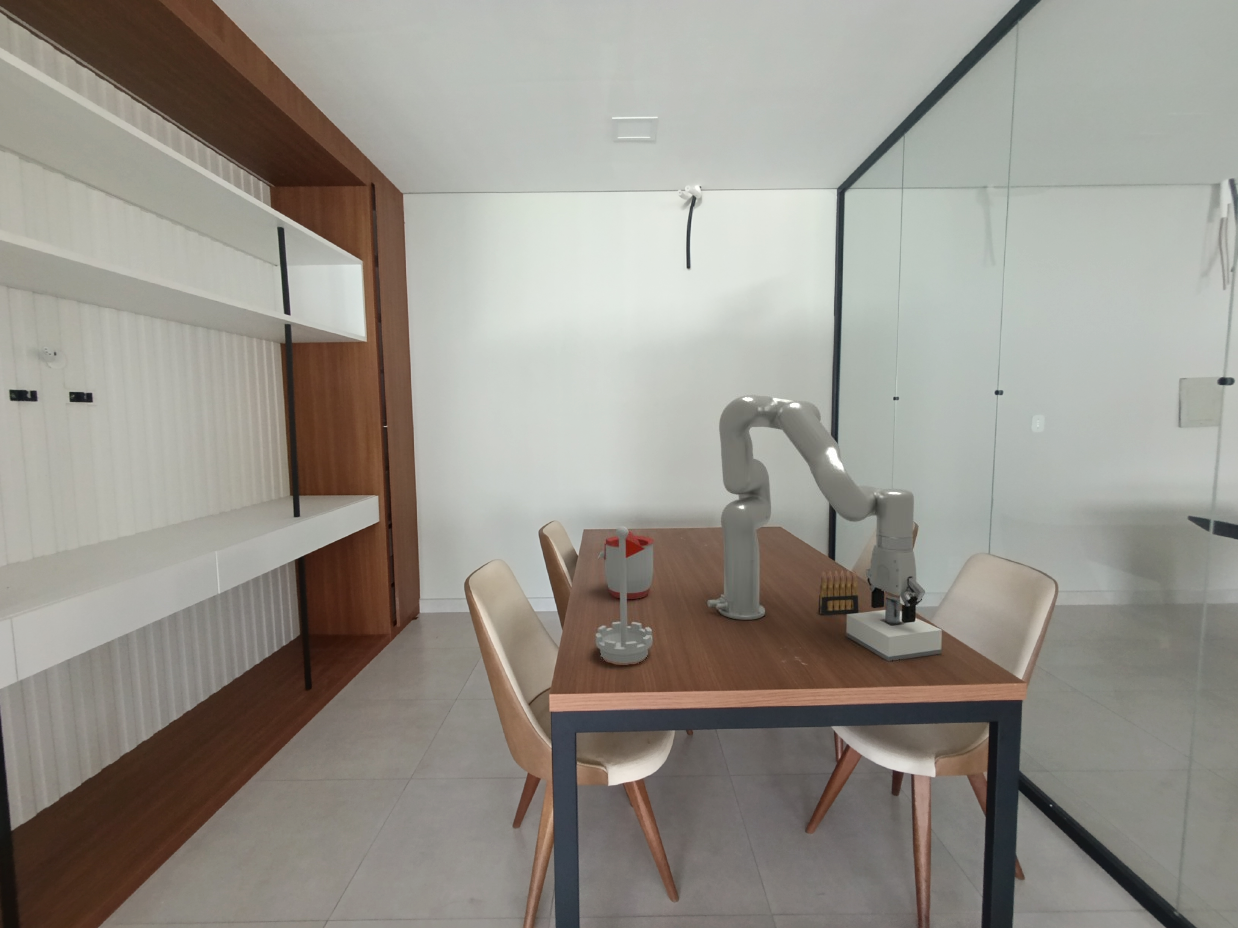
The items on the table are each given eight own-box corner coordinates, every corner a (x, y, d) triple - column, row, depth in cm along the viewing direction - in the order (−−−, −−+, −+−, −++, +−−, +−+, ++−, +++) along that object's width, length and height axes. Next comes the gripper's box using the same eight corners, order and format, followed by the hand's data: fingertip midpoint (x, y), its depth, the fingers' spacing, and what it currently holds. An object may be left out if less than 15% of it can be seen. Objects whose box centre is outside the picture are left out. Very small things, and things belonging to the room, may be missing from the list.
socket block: (888, 661, 114) (888, 636, 114) (846, 636, 128) (846, 614, 128) (941, 653, 118) (941, 629, 117) (894, 629, 131) (895, 608, 131)
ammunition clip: (854, 610, 145) (855, 568, 144) (858, 613, 143) (859, 570, 142) (818, 612, 144) (818, 570, 143) (821, 615, 142) (821, 572, 141)
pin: (891, 643, 121) (892, 601, 120) (881, 638, 124) (882, 597, 123) (901, 642, 122) (903, 600, 121) (892, 637, 125) (893, 596, 124)
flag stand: (591, 666, 115) (588, 531, 112) (601, 641, 127) (598, 520, 125) (650, 669, 113) (648, 532, 110) (654, 643, 126) (652, 520, 123)
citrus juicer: (600, 586, 171) (599, 526, 169) (653, 586, 170) (653, 525, 168) (596, 602, 155) (595, 536, 153) (655, 602, 154) (654, 536, 153)
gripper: (855, 535, 128) (853, 603, 130) (909, 552, 112) (907, 630, 113) (881, 533, 130) (879, 600, 131) (938, 549, 113) (936, 626, 115)
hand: (892, 614), depth 122 cm, fingers open, 9 cm apart
